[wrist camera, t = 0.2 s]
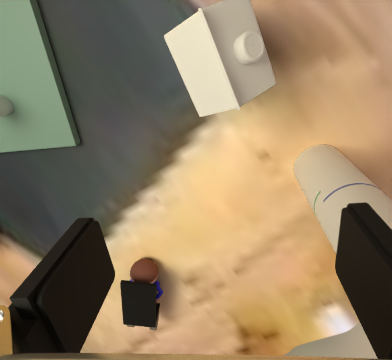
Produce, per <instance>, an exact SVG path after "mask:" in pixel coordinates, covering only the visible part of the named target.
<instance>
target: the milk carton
mask: <svg viewBox="0 0 392 360" xmlns="http://www.w3.org/2000/svg"><path fill="white" fill-rule="evenodd" d="M164 38H165V40H166V43H167V45H168V47H169V50H170V52H171V54H172V56H173V58H174V61H175V63H176V65H177V67H178V70H179V72H180V74H181V76H182V79H183V81H184V83H185V85H186V88H187V90H188V92H189V94H190V97H191V99H192V101H193V103H194V105H195V108H196V110H197V112H198V114H199V116H200V117H202V116H206V115H210V114H215V113H219V112H223V111H228V110H232V109H236V108H237V111H239V110H240V108H239V107H241V106H242V105H244V104H245V103H247V102H249V101H250V100H252V99H253V98H255V97H256V96H258V95H259V94H261V93H263V92H264V91H266V90H267V89H269V88H270V87H272V86H274V85H275V84H276V80H275V76H274V73H273V70H272V66H271V63H270V60H269V57H268V54H267V51H266V48H265V44H264V41H263V38H262V35H261V32H260V29H259V26H258V23H257V19H256V16H255V13H254V10H253V7H252V4H251V1H250V0H223V1H221V2H218V3H216V4H214V5H211V6H209V7H206V8H204V9H201V8H199V9H198V12H197V13H195V14H194V15H192V16H191V17H190V18H188V19H187V20H185V21H184V22H183V23H181V24H180V25H178V26H177V27H175V28H174V29H173V30H171V31H170V32H168V33H167V34H166V35H164Z"/></svg>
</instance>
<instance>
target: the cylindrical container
mask: <svg viewBox="0 0 392 360" xmlns="http://www.w3.org/2000/svg"><path fill="white" fill-rule="evenodd" d="M294 175H295V178H296V180H297V181H298V183H299V185H300V187H301V189H302V191H303V193H304V195H305V196H306V198H307V200H308V202H309V204H310V206H311V208H312V210H313V212H314V213H315V215H316V217H317V219H318V221H319V223H320V225H321V227H322V229H323V230H324V232H325V234H326V236H327V238H328V240H329V242H330V244H331V245H332V247H333V249H334V251H335V253H336V254H337V245H338V237H339V228H340V220H341V212H342V208H346V207H347V205H348V204H349V203H363V202H366V203H368V204H369V205H370V206H371V207H372V208H373V209H374V210H375V212H376V213H377V214H378V215H379V216H380V217H381V218H382V219H383V220H384V222H385V223H386V224H387V225H388V226H389V227H390V228H391V229H392V200H391V199H390V198H389V197H388V196H387V195H386V194H385V193H383V192H382V191H381V190H380V189H379V188H378V187H377V186H376V185H375V184H374V183H373V182H372V181H371V180H369V179H368V178H367V177H366V176H365V175H364V174H363V173H362V172H361V171H360V170H359V169H358V168H357V167H356V166H354V165H353V164H352V163H351V162H350V161H349V160H348V159H347V158H346V157H345V156H344V155H343V154H342V153H340V152H339V151H338V150H337V149H336V148H334V147H332V146H330V145H325V144H319V145H314V146H311V147H309V148H307V149H305V150H304V151H303V152H302V153H300V155H299V156H298V157H297V159H296V161H295V164H294Z"/></svg>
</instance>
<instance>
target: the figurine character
mask: <svg viewBox="0 0 392 360" xmlns="http://www.w3.org/2000/svg"><path fill="white" fill-rule="evenodd" d="M130 277H131V280H130V281H125V280H121V283H120V284H121V298H122V311H123V324H126V325H127V326H128V327H134V326H144V327H150V330H156V329H157V325H158V318H159V307H160V303H157V302H158V301H159V297H160V296H161V295H162V294H163V291H162V290H161V288H160V286H159V284H160V283H159V282H158V281H156V279H157V277H158V267H157V265H156V264H155V263H154V262H153V261H152V260H150V259H140V260H138V261H136V262H135V263H134V264H133V266H132V268H131V271H130ZM157 291H158V292H159V293H158V294H157ZM156 294H157V296H156Z"/></svg>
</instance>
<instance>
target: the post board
mask: <svg viewBox="0 0 392 360" xmlns="http://www.w3.org/2000/svg"><path fill="white" fill-rule="evenodd" d="M79 143H80V139H79V136H78V133H77V130H76V126H75V123H74V120H73V117H72V114H71V110H70V107H69V104H68V101H67V97H66V94H65V91H64V88H63V85H62V81H61V78H60V75H59V72H58V68H57V65H56V62H55V59H54V55H53V52H52V49H51V46H50V43H49V39H48V36H47V33H46V30H45V26H44V23H43V20H42V17H41V13H40V10H39V7H38V4H37V1H36V0H0V152H11V151H22V150H34V149H45V148H56V147H67V146H76V145H78V144H79Z"/></svg>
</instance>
